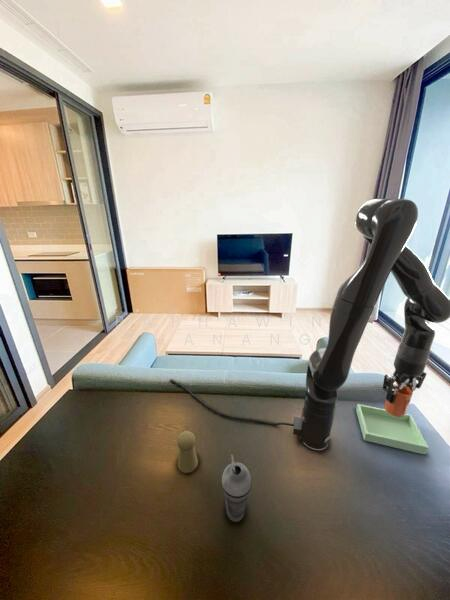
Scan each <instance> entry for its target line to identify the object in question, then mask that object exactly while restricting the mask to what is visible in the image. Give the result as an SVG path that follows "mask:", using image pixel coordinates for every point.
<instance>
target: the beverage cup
mask: <svg viewBox="0 0 450 600" xmlns="http://www.w3.org/2000/svg"><path fill="white" fill-rule="evenodd" d="M230 459H231V463H229V464H228V465H227V466H226V467H225V469H224V470H223V473H222V476H221V480H220V481H221V482H220V483H221V487H222V491H223V495H224V503H225V510H226V514H227V515H226V516H227V517H228V519H229V520H231V521H232V522H236V523H237V522H240V521H241V520H242V519H243V518H244V517H245V516H244V515H245V512H246V508H247V502H248V497H249V493H250V491H251V488H252V478H251V477H252V476H251V474H250V471H249V469H248V468H247V467H246V466H245V465H244V464H243V463H241V462H237V461H236V462H235V459H234V454H233V453H231V454H230Z"/></svg>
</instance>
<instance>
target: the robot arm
mask: <svg viewBox="0 0 450 600" xmlns="http://www.w3.org/2000/svg"><path fill="white" fill-rule="evenodd" d="M418 218H419V209H418V205H417V204H416V203H415V202H414V200H412V199H407V198H386V197H385V198H381V197H380V198H374V199H370V200H368V201H366V202H365V203H363V204H362V205H361V206H360V208H359V209H358V211H357V213H356V216H355V227H356V229H357V231H358V233H359V234H360V235H361V236H362V237H363V239H364V240H365V241H366V242H367V243H368V244H369V245H370V247H369V250H368V252H367V254H366V256H365V259H364V260H363V261H362V263H361V264H360V266H359V267H358V268H356V270H355V271H354V272H353V273H351V275H349V276H348V277H347V278H346V279H345V280H344V281H343V282H342V284H340V287H339V288H338V290H337V293H336V296H335V298H334V301H333V304H332V307H331V311H330V315H329V326H328V328H329V329H328V337H327V338H328V339H327V344H326V347H321V348H317V349H316V350H314V351H312V353H311V354H310V356H309V358H308V361H307V368H306V377H305V394H304V402H303V407H302V410H301V416H300V417H298V416H294V417H293V423H290V422H284V421H283V422H282V421H279V422H271V421H266V420H260V419H256V418H250V417H241V416H234V415H229V414H227V413H223V412H221V411H219V410H217V409H215V408H213V407H212V406H210V405H209V404H207V403H205V402H204V401H203V400H202V399H200V398H199V397H198V396H196V394H194V393H193V392H192V391H191V390H190V389H189V388H187V387H186V386H185V385H183V384H181V383H179V382H178V381H175V380H174V379H170V382H171V383H173V384H175V385H177V386H179V387H181V388H182V389H184V390H185V391H187V392H188V393H189V394H190V395H191V396H192V397H193V398H195V399H196V400H197V401H198V402H200V404H202V405H203V406H205V407H206V408H208V409H209V410H211V411H213V412H215V413H217V414H218V415H221V416H223V417H225V418H230V419H235V420H241V421H250V422H256V423H261V424H265V425H271V426H280V425H282V426H290V427H293V429H292V431H293V432H292V435H294V436H298V437H299V438H298V442H299V443H300V444H302V445H304V446H305V447H306V448H307V449H308V450H311V451H315V452H321V451H322V452H323V451H325V450H326V449H327V448H328V447H329V444H330V439H331V437H332V434H331V433H332V429H333V423H334V418H335V414H336V409H337V404H338V399H339V392H338V390H339V389H341V388H342V387H343V386H344V385H345V383H346V381H347V380H348V377H349V374H350V370H351V367H352V363H353V359H354V356H355V353H356V350H357V348H358V346H359V345H360V341H361V340H362V337H363V335H364V333H365V330H366V327H367V325H368V323H369V321H370V319H371V316H372V315H373V313H374V310H375V308H376V305H377V303H378V301H379V298H380V295H381V293H382V291H383V289H384V286H385V284H386V282H387V280H388V278H389V276H390V274H392V276H393V278H394V279H395V281H396V283H397V285H398V287H399V288H400V291H401V292H402V293H403V295H404V296H405V297H406V300H405V302H404V308H403V313H404V315H403V316H404V331H403V334H402V337H401V340H400V343H399V345H398V348H397V350H396V355H395V358H394V361H393V366H394V372H393V373H392V374H391V375H389V374H388V373H385V375H384V377H383V383H382V384H383V385H382V390H384V391H385V392H386V396H385V400H386V399H387V401H389V402H390V403H394V400H395V397H396V393H397V392H398V390H401V389H402V388H403V387H404V385H405V386H407V387H409V388H410V389H411V390H412V392H413V393H414V392H415V391H416V390H417V389H421V388H422V385H423V383H424V381H425V379H426V377H427V372H425V368H426V366H427V363H428V360H429V358H430V353H431V349H432V348H431V347H432V345H433V343H434V339H435V336H436V331H435V329H434V328H433V327H431V326H430V325H429V324H428V323H427V322H429V323H434V324H440V323H444V322H446V321H447V320H449V319H450V298H449V297H448V295H446V294H445V292H444V291H443V290H442V289H441V288H440V287H439V286H438V285H436V283H435V282H434V279H433V278H432V275H431V273H430V271H429V269H428V267H427V266H426V264H425V263H424V261H423V260H422V259H420V257H419V256H418V255H417V254H415V253H414V251H412V250H411V249H410V248H409V246H407V242H408V241H410V238H411V236H412V234H413V233H414V230H415V228H416V226H417V222H418ZM395 383H398V384H399V386H398V385H397V384H395ZM393 386H394V387H395V389H394V390H393Z"/></svg>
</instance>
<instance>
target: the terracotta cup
mask: <svg viewBox="0 0 450 600" xmlns="http://www.w3.org/2000/svg"><path fill="white" fill-rule="evenodd" d="M395 384H397V385H398V386H399V384H398V383H397V382H395ZM394 389H395V387H394V386H393V390H394ZM413 393H414V391H413V392H412V390H411V389H410V388H409V387H407V386H406V385H404V387H403V388H402V389H401V390H398V392H397V393H396V397H395V400H394V403H390V402H389V401H387V399H386V398H385V401H384V406H383V407H384V408H383V409H385V410H386V411H387V412H388V413H389V414H391V415H393V416H395V417H404V416H405V414H407V411H408V408H409V405H410V402H411V400H412V397H413Z"/></svg>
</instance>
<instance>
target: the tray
mask: <svg viewBox="0 0 450 600" xmlns="http://www.w3.org/2000/svg"><path fill="white" fill-rule="evenodd" d="M355 412H356V416H357V419H358V423H359V426H360V431H361V434H362V438H363V441H364V442H365V441H366V442H369V443H370V442H371V443H373V444H377V445H383V446H386V447H390V448H391V447H392V448H395V449H400V450H403V451H408V452H412V453H417V454H421V455H427V453H428V450H429V446H428V444H427V442H426V440H425V438H424V436H423V435H422V433H421V431H420V428H419V426H418V425H417V423H416V421H415V419H414V417H413V415H412V414H411V413H406V414H405V416H404V417H395V416H393V415H391V414H389V413H388V412H387V411H386V410H385V408H379V407H374V406H371V405H366V404H361V403H357V406H356V409H355Z"/></svg>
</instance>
